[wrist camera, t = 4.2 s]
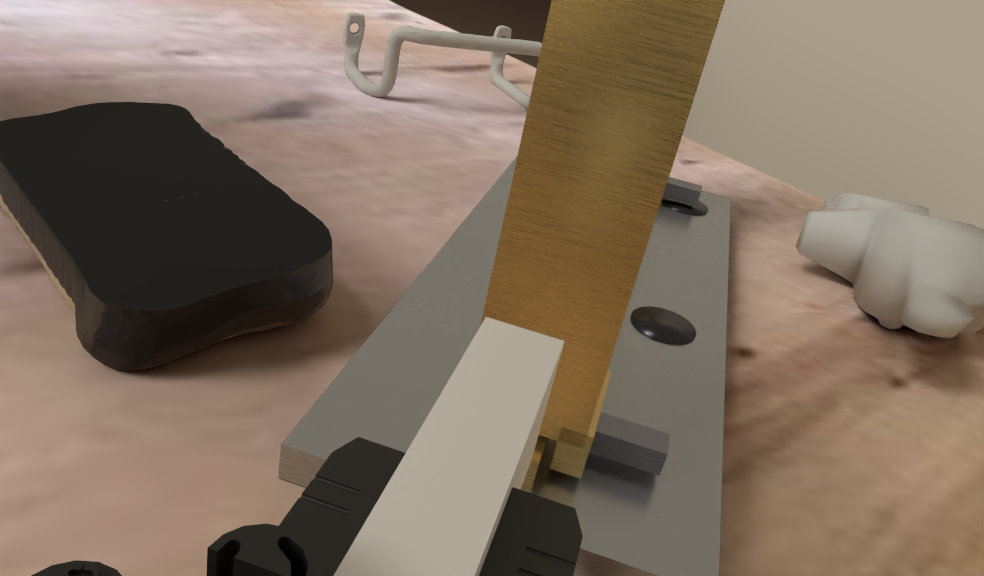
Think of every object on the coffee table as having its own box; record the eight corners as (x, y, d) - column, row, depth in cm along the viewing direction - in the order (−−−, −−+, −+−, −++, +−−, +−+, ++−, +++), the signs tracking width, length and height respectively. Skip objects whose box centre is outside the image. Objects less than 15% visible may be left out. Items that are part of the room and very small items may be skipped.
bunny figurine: (948, 194, 46) (1153, 301, 32) (913, 278, 48) (1093, 413, 34) (787, 163, 45) (926, 260, 31) (758, 250, 47) (877, 377, 33)
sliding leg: (449, 434, 24) (570, -133, 17) (482, 371, 27) (597, -130, 20) (655, 504, 23) (876, -63, 16) (665, 431, 26) (854, -72, 19)
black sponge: (351, 342, 30) (363, 253, 28) (106, 407, 24) (103, 301, 23) (172, 168, 40) (173, 94, 38) (-30, 187, 34) (-40, 101, 33)
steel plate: (278, 477, 23) (281, 442, 22) (523, 161, 49) (528, 141, 48) (703, 628, 21) (719, 594, 21) (723, 218, 47) (730, 197, 47)
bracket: (498, 87, 64) (510, 20, 62) (547, 118, 58) (562, 44, 56) (338, 76, 58) (345, 1, 56) (373, 108, 52) (383, 26, 50)
